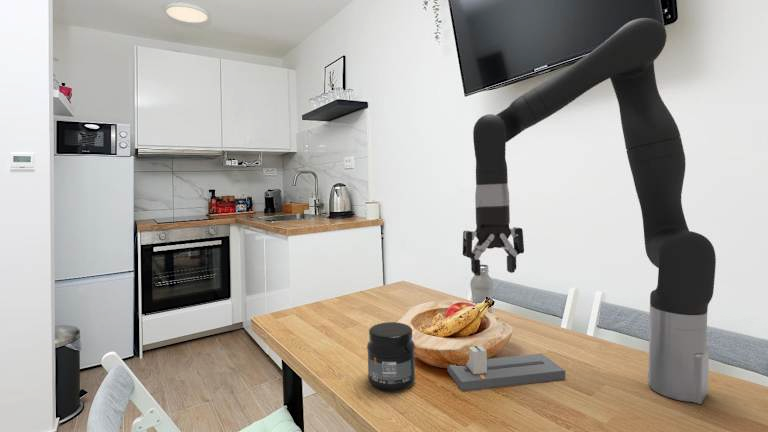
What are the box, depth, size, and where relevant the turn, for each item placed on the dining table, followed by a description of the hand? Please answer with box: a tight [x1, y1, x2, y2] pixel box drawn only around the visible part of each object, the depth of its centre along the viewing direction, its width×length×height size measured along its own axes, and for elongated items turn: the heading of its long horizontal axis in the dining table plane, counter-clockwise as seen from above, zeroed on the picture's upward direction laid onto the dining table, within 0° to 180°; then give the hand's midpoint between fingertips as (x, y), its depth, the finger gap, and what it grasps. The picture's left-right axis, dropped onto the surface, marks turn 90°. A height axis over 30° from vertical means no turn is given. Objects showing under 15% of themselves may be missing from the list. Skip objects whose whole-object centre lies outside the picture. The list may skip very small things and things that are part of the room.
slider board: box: [447, 352, 566, 392], centre depth 86 cm, size 24×9×2 cm, turn 100°
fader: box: [466, 345, 488, 374], centre depth 84 cm, size 3×5×5 cm, turn 10°
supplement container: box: [366, 321, 416, 393], centre depth 84 cm, size 10×10×12 cm
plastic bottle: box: [469, 264, 494, 315], centre depth 111 cm, size 6×7×20 cm
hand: (494, 273), depth 88 cm, fingers open, 8 cm apart
